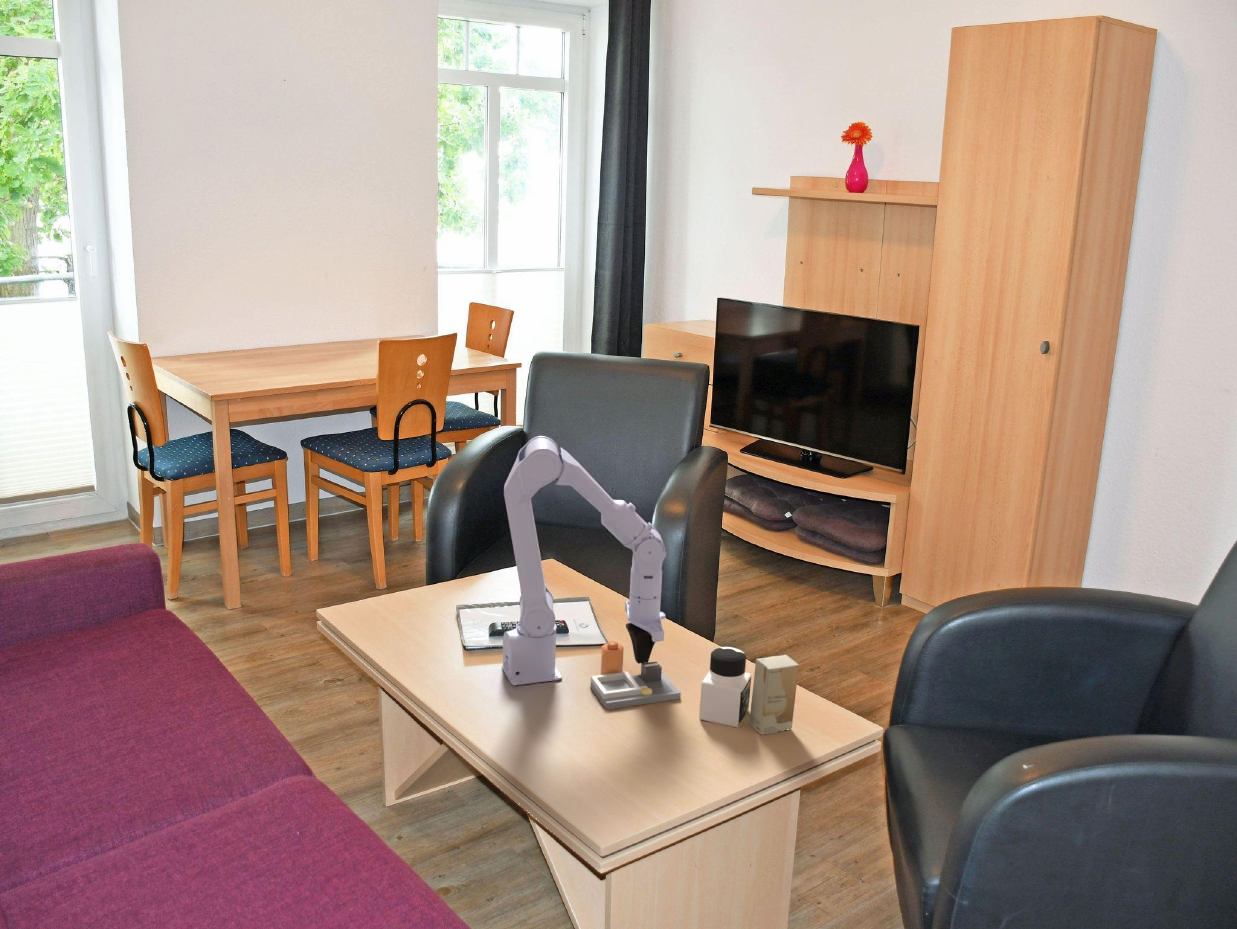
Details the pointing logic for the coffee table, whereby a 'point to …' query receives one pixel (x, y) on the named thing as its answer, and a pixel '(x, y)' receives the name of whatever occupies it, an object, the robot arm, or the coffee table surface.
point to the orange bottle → (612, 658)
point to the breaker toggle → (651, 671)
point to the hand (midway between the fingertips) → (641, 661)
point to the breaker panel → (632, 690)
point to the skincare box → (773, 694)
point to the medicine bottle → (725, 688)
